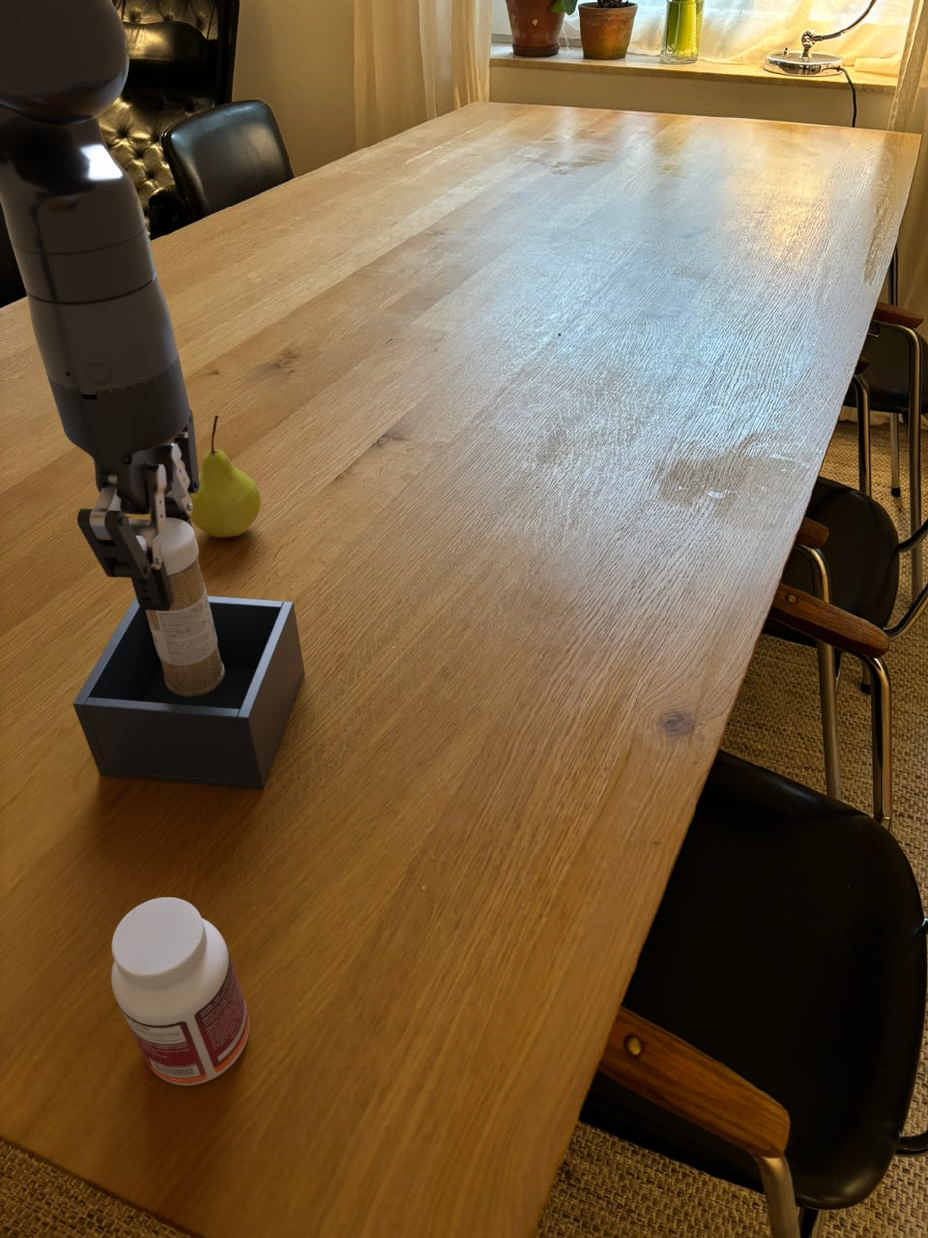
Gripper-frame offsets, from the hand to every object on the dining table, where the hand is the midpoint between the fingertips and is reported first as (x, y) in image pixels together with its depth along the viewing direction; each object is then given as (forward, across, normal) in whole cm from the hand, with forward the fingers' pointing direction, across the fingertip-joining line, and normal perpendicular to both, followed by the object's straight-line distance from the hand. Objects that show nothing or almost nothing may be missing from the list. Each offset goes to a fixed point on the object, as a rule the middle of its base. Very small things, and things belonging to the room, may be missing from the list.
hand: (170, 582), depth 69 cm
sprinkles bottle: (+10, 0, 0) cm, 10 cm away
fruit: (+14, -25, -6) cm, 29 cm away
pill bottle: (+14, +25, +8) cm, 30 cm away
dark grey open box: (+14, 0, 0) cm, 14 cm away
